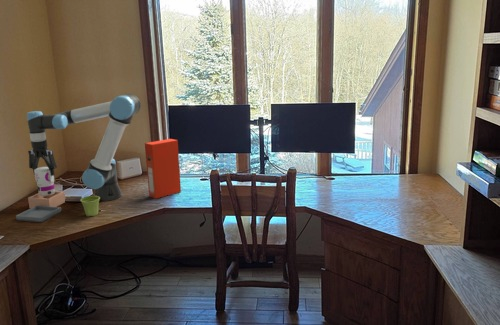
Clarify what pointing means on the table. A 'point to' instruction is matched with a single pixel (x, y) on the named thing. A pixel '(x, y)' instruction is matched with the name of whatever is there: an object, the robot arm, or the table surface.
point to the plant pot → (90, 205)
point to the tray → (38, 213)
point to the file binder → (163, 168)
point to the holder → (47, 200)
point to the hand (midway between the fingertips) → (45, 180)
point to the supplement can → (44, 182)
